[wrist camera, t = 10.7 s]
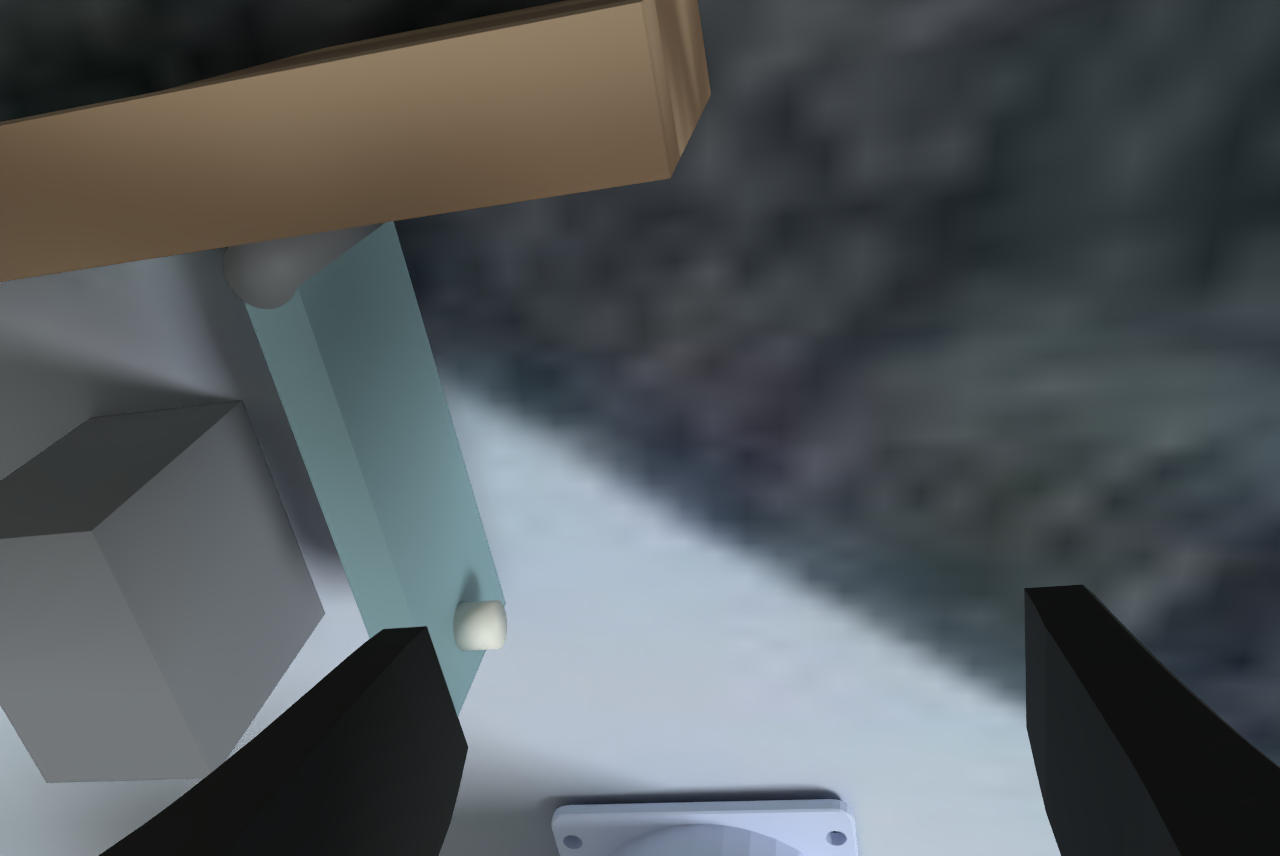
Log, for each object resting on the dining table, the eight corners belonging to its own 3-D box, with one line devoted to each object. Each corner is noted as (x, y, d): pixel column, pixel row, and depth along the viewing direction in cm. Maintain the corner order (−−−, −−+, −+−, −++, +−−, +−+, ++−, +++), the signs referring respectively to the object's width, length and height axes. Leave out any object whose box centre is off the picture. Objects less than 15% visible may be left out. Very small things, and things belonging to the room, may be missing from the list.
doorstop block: (326, 612, 25) (213, 777, 20) (187, 620, 26) (46, 783, 21) (243, 399, 22) (91, 530, 17) (92, 416, 23) (-94, 547, 18)
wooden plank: (711, 94, 18) (670, 178, 12) (-247, 258, 22) (-622, 377, 16) (693, -25, 17) (640, 2, 11) (-298, 170, 21) (-713, 263, 16)
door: (328, 178, 19) (211, 242, 15) (418, 163, 19) (322, 224, 15) (463, 603, 24) (399, 737, 20) (539, 598, 23) (488, 733, 19)
